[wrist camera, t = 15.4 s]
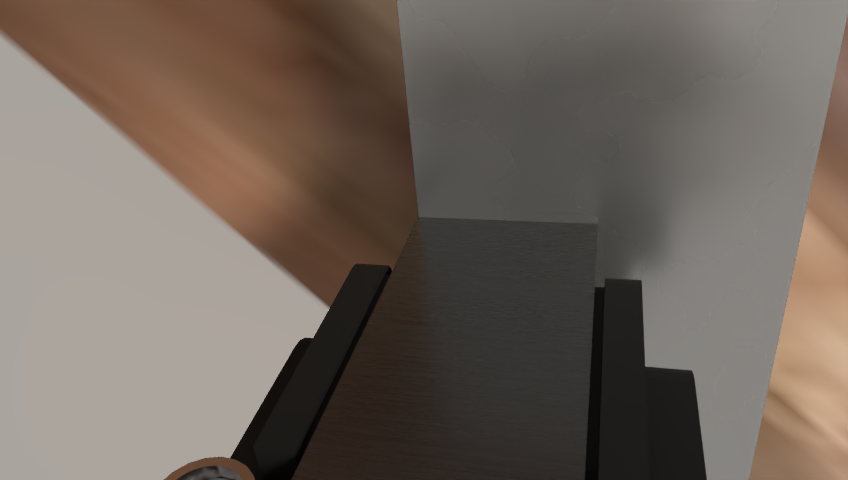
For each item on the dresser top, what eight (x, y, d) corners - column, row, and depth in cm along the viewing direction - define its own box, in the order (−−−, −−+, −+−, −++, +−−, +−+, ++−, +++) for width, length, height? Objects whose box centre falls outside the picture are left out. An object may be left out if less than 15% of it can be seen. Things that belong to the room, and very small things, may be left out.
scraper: (458, 501, 17) (337, 1030, 10) (401, -151, 10) (-174, -19, 3) (722, 538, 16) (811, 1185, 8) (865, -190, 9) (2175, -142, 1)
